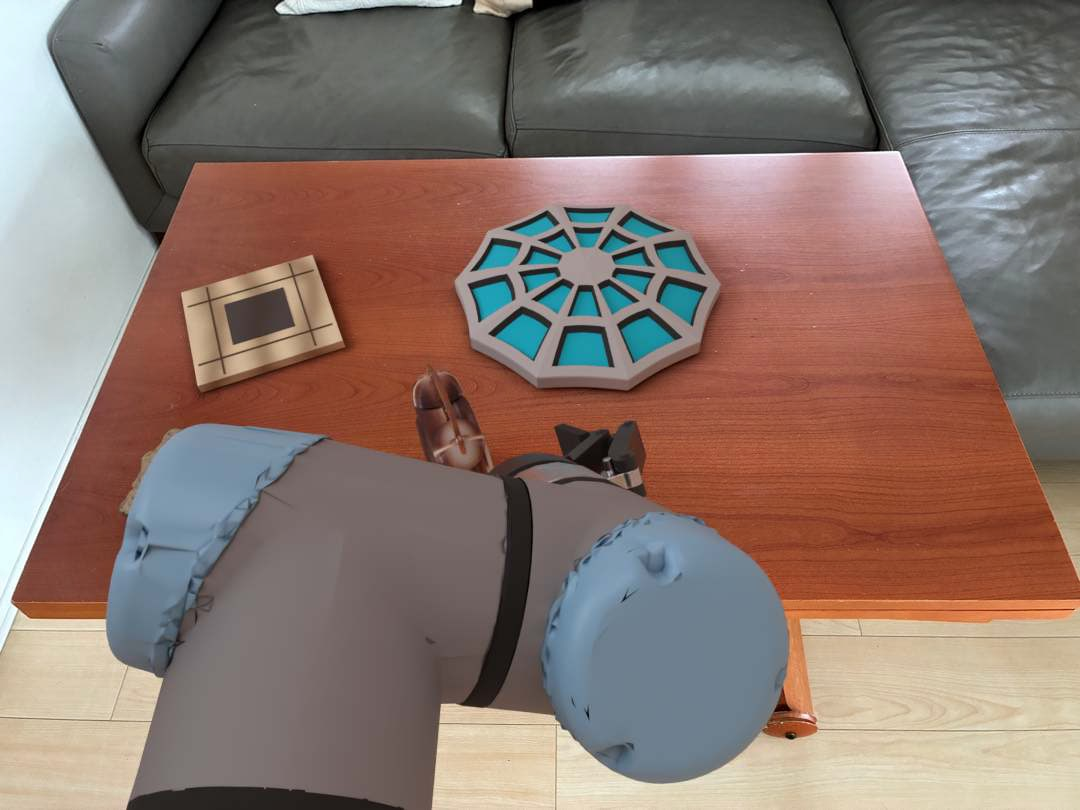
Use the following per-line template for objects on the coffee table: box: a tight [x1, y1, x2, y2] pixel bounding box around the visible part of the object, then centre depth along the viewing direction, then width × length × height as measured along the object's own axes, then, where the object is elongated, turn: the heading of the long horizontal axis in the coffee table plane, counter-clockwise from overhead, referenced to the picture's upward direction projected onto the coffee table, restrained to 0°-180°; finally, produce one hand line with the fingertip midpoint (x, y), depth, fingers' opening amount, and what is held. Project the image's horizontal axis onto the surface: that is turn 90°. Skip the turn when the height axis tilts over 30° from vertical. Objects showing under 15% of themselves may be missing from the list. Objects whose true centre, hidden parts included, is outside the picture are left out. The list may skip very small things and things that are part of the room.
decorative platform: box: [454, 203, 722, 392], centre depth 88 cm, size 31×29×5 cm
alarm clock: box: [411, 364, 494, 475], centre depth 68 cm, size 11×5×15 cm, turn 22°
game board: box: [180, 254, 346, 394], centre depth 89 cm, size 16×16×1 cm
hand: (479, 472), depth 57 cm, fingers open, 13 cm apart
